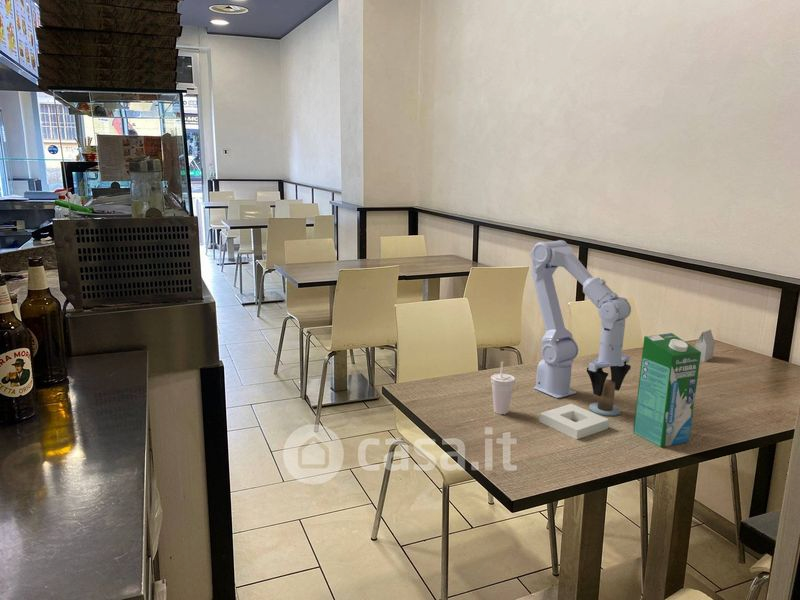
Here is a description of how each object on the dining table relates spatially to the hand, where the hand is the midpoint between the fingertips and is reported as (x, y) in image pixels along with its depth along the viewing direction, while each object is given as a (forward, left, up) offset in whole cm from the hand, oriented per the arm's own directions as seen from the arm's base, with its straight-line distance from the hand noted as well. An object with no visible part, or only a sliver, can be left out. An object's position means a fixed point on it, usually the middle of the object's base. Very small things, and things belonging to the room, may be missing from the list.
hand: (606, 392), depth 162 cm
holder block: (+2, -15, -5) cm, 16 cm away
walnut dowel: (0, 0, -5) cm, 5 cm away
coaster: (0, 0, -5) cm, 5 cm away
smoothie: (-14, -25, -5) cm, 29 cm away
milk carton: (+18, -2, -5) cm, 19 cm away
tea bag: (-11, +68, -6) cm, 69 cm away
